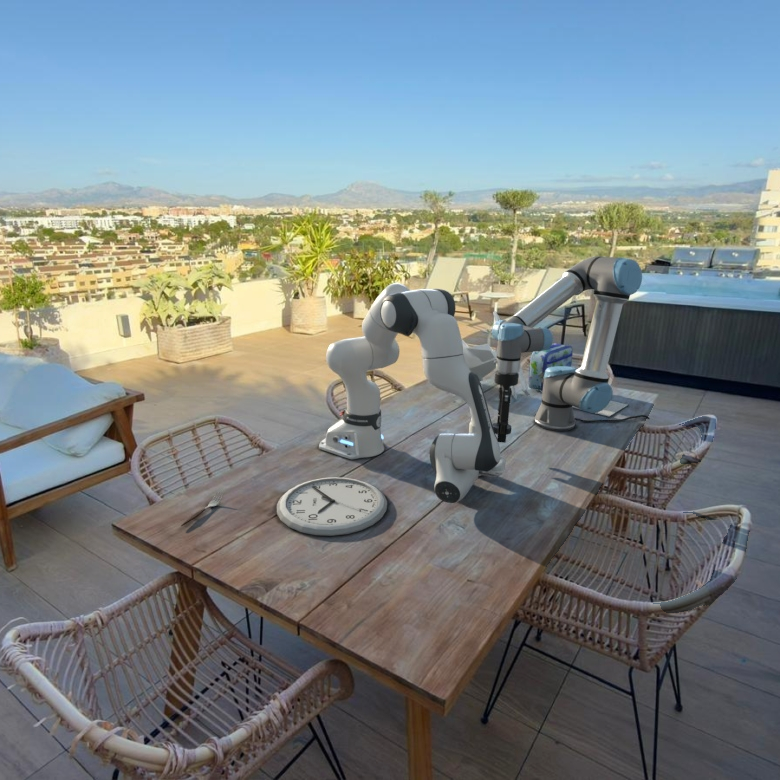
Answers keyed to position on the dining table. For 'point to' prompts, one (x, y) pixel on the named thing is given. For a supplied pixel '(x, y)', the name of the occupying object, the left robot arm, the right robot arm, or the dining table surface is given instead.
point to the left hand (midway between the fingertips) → (477, 451)
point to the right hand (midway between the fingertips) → (500, 437)
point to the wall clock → (331, 506)
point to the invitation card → (611, 408)
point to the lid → (495, 427)
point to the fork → (211, 504)
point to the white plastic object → (487, 361)
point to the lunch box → (547, 363)
